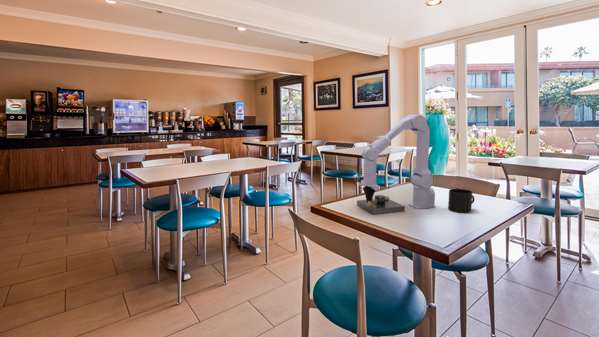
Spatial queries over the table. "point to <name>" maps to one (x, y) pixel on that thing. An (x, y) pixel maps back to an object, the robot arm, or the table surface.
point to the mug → (460, 200)
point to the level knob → (378, 200)
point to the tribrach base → (381, 207)
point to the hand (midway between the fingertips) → (369, 202)
